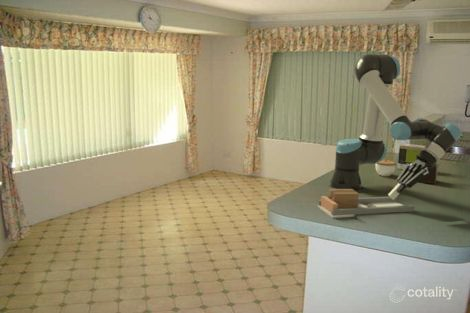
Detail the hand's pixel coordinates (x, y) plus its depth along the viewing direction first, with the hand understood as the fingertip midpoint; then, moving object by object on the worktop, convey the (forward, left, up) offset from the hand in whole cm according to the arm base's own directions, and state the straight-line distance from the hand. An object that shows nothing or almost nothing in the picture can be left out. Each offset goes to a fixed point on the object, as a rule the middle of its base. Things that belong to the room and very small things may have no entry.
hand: (390, 197), depth 170 cm
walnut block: (-3, -20, -4) cm, 21 cm away
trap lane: (-2, -10, -5) cm, 12 cm away
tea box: (-68, +60, -6) cm, 90 cm away
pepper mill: (-43, +51, -6) cm, 67 cm away
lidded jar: (-57, +34, -6) cm, 66 cm away
